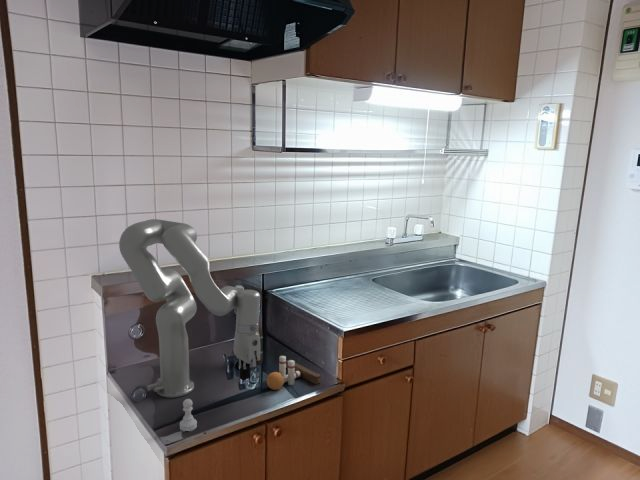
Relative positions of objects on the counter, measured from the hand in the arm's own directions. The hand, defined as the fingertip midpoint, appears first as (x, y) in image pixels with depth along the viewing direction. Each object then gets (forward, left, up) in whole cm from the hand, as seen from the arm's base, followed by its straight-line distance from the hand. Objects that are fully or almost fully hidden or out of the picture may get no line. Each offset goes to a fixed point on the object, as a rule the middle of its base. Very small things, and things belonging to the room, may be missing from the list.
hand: (244, 378), depth 167 cm
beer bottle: (+18, +21, -6) cm, 28 cm away
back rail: (+25, -1, -6) cm, 26 cm away
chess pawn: (-24, -6, -6) cm, 26 cm away
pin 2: (+17, -4, -6) cm, 19 cm away
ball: (+11, -3, -3) cm, 12 cm away
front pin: (+15, -1, -5) cm, 15 cm away
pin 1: (+17, +1, -6) cm, 18 cm away
